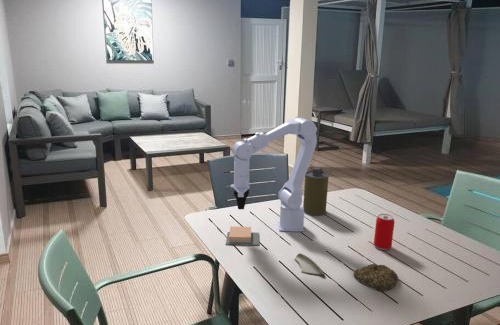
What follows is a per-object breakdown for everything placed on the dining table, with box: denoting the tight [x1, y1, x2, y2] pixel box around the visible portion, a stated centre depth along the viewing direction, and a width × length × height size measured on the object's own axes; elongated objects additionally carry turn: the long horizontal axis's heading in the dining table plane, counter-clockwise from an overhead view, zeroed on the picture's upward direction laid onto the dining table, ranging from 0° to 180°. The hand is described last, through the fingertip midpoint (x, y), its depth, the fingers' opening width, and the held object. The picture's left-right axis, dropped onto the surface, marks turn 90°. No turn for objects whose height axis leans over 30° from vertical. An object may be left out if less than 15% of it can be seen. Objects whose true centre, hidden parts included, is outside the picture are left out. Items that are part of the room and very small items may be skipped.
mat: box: [225, 231, 260, 246], centre depth 150 cm, size 12×10×1 cm
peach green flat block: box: [229, 226, 252, 242], centre depth 150 cm, size 8×2×9 cm
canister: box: [302, 166, 330, 217], centre depth 175 cm, size 11×10×20 cm
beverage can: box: [373, 213, 395, 251], centre depth 144 cm, size 6×6×12 cm
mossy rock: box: [353, 263, 399, 292], centre depth 125 cm, size 13×12×5 cm
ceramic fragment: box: [293, 252, 326, 278], centre depth 130 cm, size 14×5×4 cm, turn 31°
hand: (241, 208), depth 151 cm, fingers closed
